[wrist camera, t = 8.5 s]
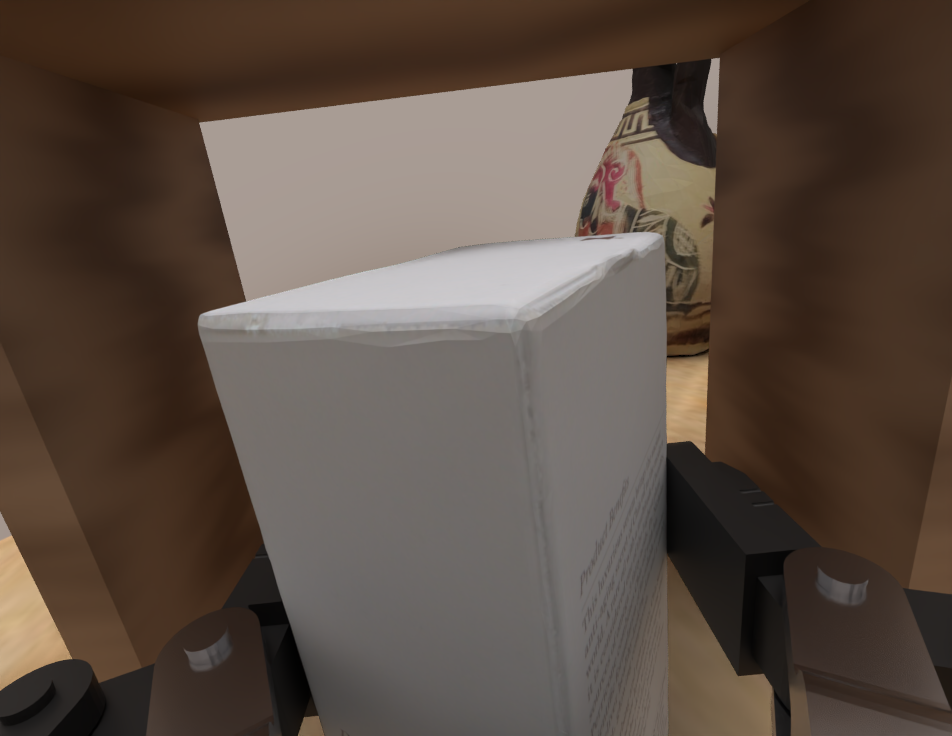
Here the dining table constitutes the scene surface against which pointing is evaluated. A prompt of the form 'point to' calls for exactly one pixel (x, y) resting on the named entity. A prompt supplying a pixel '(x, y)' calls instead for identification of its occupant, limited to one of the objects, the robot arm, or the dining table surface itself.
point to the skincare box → (465, 485)
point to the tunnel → (425, 72)
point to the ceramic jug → (664, 190)
